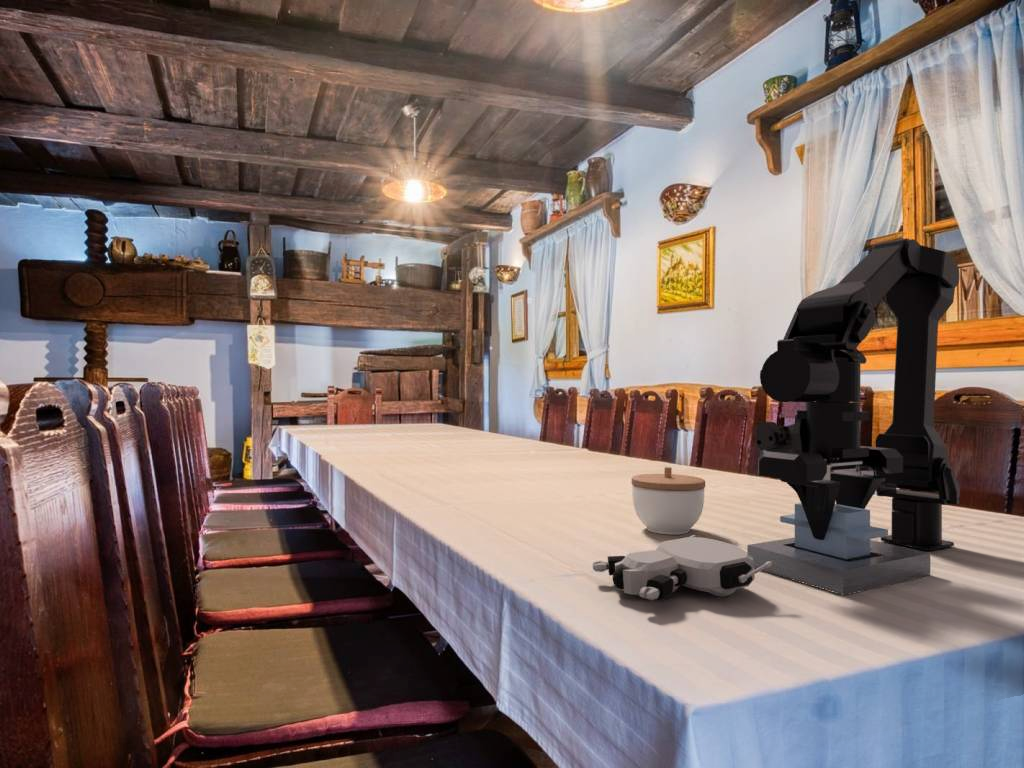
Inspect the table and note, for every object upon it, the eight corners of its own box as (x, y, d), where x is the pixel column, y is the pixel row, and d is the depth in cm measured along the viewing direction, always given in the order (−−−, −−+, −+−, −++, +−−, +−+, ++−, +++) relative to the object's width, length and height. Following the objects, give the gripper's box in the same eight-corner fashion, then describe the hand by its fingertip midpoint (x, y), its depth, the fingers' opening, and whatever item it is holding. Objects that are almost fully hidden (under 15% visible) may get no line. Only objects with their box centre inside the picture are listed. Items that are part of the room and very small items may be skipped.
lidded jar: (616, 529, 93) (617, 466, 93) (657, 519, 100) (657, 461, 100) (679, 542, 85) (679, 474, 85) (718, 531, 92) (719, 468, 92)
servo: (812, 537, 78) (812, 497, 78) (896, 556, 69) (896, 511, 69) (780, 542, 75) (780, 501, 75) (863, 563, 66) (863, 516, 66)
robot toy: (650, 630, 56) (779, 599, 61) (647, 580, 56) (777, 554, 61) (586, 589, 67) (700, 566, 72) (584, 548, 67) (698, 528, 72)
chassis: (832, 550, 81) (832, 531, 81) (930, 574, 70) (930, 552, 71) (747, 565, 73) (747, 544, 73) (843, 595, 63) (843, 571, 63)
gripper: (820, 401, 83) (819, 517, 83) (721, 401, 74) (720, 531, 74) (905, 402, 74) (905, 534, 73) (803, 403, 65) (803, 552, 64)
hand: (832, 537), depth 72 cm, fingers closed on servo, 4 cm apart
